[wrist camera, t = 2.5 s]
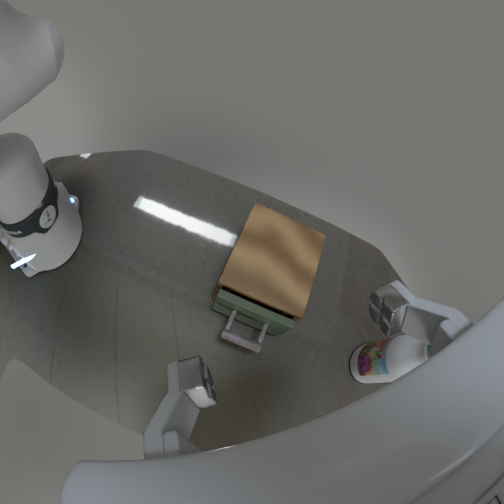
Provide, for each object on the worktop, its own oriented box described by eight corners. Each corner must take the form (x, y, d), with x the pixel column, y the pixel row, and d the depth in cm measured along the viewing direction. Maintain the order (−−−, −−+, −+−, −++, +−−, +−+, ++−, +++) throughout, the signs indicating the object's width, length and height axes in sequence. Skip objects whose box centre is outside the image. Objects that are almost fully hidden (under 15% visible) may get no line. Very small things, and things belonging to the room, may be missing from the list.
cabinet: (280, 328, 45) (302, 317, 37) (211, 299, 45) (218, 281, 36) (303, 258, 52) (325, 235, 43) (243, 231, 51) (255, 202, 43)
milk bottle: (385, 358, 47) (463, 340, 29) (367, 390, 43) (448, 385, 26) (360, 337, 48) (438, 311, 30) (341, 369, 44) (421, 358, 26)
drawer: (266, 360, 41) (282, 358, 34) (200, 333, 41) (203, 325, 34) (298, 267, 50) (316, 250, 43) (241, 242, 49) (251, 219, 42)
